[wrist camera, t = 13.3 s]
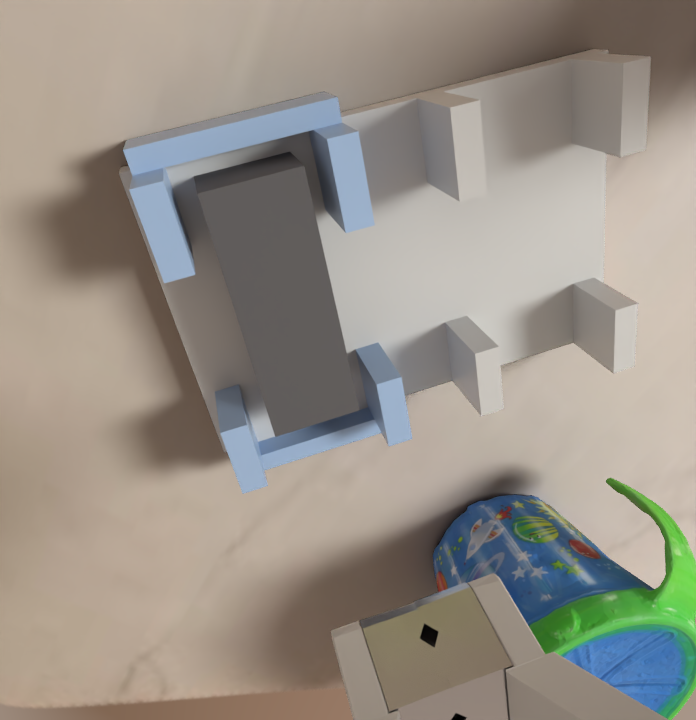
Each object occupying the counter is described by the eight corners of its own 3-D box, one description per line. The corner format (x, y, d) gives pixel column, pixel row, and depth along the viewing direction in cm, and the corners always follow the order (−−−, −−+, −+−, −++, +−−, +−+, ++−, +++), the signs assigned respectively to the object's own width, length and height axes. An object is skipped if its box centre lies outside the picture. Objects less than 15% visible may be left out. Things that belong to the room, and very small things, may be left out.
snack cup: (537, 394, 31) (683, 538, 22) (641, 482, 36) (792, 627, 27) (333, 600, 34) (391, 797, 25) (455, 654, 39) (538, 833, 30)
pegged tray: (111, 143, 21) (101, 166, 18) (592, 25, 23) (666, 25, 20) (227, 453, 28) (236, 512, 24) (590, 338, 30) (644, 378, 27)
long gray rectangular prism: (193, 176, 21) (197, 193, 19) (289, 151, 22) (304, 165, 19) (265, 401, 26) (275, 437, 24) (343, 378, 26) (359, 410, 24)
